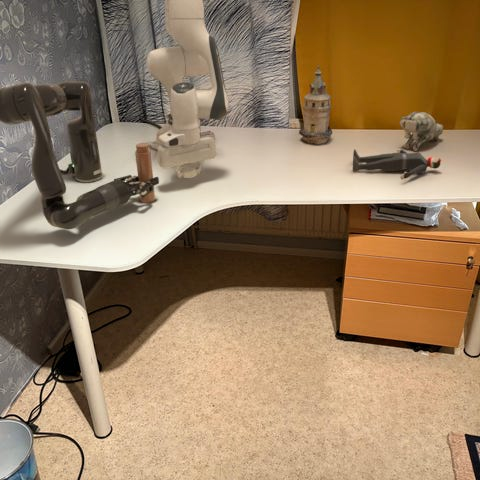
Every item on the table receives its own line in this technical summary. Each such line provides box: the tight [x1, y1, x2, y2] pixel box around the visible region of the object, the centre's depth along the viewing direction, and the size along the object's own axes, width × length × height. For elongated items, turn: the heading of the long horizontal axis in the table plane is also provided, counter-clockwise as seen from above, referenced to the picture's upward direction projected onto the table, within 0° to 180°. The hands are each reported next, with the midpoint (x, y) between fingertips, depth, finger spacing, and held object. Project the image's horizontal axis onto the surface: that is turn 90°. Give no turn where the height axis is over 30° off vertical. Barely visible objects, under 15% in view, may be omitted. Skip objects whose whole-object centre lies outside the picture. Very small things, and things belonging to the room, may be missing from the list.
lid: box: [180, 165, 198, 179], centre depth 180 cm, size 5×5×2 cm
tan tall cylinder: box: [134, 142, 156, 204], centre depth 168 cm, size 5×5×18 cm
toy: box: [352, 148, 442, 180], centre depth 190 cm, size 26×6×30 cm
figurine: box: [399, 111, 444, 152], centre depth 210 cm, size 10×19×20 cm
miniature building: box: [298, 65, 333, 145], centre depth 213 cm, size 13×14×30 cm
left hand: (152, 178), depth 171 cm, fingers closed on tan tall cylinder, 4 cm apart
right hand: (188, 174), depth 181 cm, fingers closed on lid, 5 cm apart
